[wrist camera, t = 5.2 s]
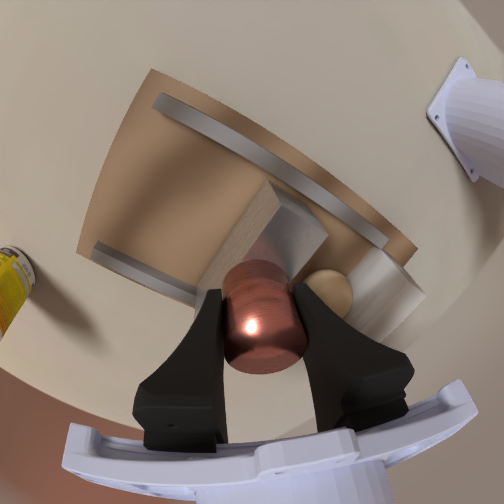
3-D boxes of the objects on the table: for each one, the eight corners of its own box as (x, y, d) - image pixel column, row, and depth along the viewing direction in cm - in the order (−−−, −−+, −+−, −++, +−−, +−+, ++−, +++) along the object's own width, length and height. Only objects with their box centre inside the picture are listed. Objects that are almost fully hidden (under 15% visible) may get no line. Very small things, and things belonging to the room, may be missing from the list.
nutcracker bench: (409, 240, 22) (451, 282, 16) (315, 341, 27) (332, 392, 22) (157, 71, 13) (121, 55, 8) (83, 242, 19) (46, 293, 13)
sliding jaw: (308, 205, 17) (369, 291, 10) (235, 300, 21) (245, 403, 13) (263, 176, 16) (302, 252, 8) (194, 283, 19) (185, 389, 12)
